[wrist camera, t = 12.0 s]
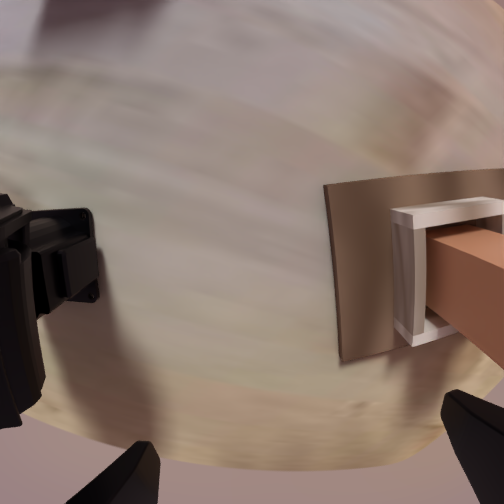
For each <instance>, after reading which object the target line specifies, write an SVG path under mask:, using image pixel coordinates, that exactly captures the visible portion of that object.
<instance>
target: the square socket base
mask: <svg viewBox="0 0 504 504" xmlns="http://www.w3.org/2000/svg"><path fill="white" fill-rule="evenodd" d="M323 186H324V194H325V201H326V209H327V216H328V225H329V233H330V242H331V251H332V261H333V272H334V283H335V295H336V308H337V323H338V340H339V355H340V357H341V359H342V361H343V362H344V361H349V360H353V359H357V358H361V357H366V356H370V355H374V354H377V353H381V352H385V351H389V350H393V349H396V348H400V347H403V346H407V345H411V346H412V347H414V346H418V345H421V344H424V343H427V342H431V341H434V340H437V339H440V338H443V337H446V336H449V335H452V334H455V333H457V332H459V331H458V330H457V329H455V328H454V327H453V326H452V325H450V324H449V323H448V322H447V321H446V320H444V319H443V318H442V317H441V316H439V315H438V314H437V313H436V312H434V311H433V310H432V309H431V308H429V307H428V306H427V305H426V231H430V230H436V229H442V228H448V227H453V226H459V225H465V224H469V225H473V226H476V227H480V228H483V229H486V230H490V231H493V232H496V233H500V234H503V235H504V168H503V169H483V170H467V171H453V172H440V173H429V174H417V175H407V176H397V177H387V178H378V179H369V180H361V181H352V182H344V183H336V184H329V185H323Z"/></svg>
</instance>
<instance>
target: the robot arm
mask: <svg viewBox="0 0 504 504" xmlns="http://www.w3.org/2000/svg"><path fill="white" fill-rule="evenodd" d="M83 212H84V213H85V215H86V218H85V219H84V218H83V217H82V213H83ZM98 276H99V273H98V264H97V254H96V243H95V240H94V238H93V230H92V215H91V211H90V210H89V209H88V208H70V209H53V210H38V211H31V210H24V209H23V208H20V207H15V204H13V203H12V202H11V200H10V198H9V196H8V194H1V193H0V429H3V428H11V427H18V426H21V425H22V421H21V418H20V415H19V414H21V413H22V412H24V411H25V410H27V409H28V408H30V407H32V406H33V405H34V404H35V403H36V402H37V401H38V400H39V399H40V398H41V396H42V394H41V389H42V387H43V384H44V381H45V378H46V375H45V369H44V363H43V358H42V352H41V346H40V340H39V334H38V327H37V320H38V319H39V318H40V317H42V316H43V315H44V314H49V313H51V312H52V311H53V310H54V309H56V308H57V307H58V306H59V305H61V304H62V303H63V302H65V301H74V302H87V303H94V302H96V301H97V300H98V299H99V288H98V281H97V277H98ZM90 293H92V294H93V295H94V298H93V297H92V296H91V295H90ZM441 419H442V421H443V424H444V426H445V429H446V431H447V434H448V436H449V439H450V442H451V444H452V447H453V449H454V452H455V454H456V456H457V458H458V460H459V461H460V464H461V466H462V468H463V470H464V472H465V474H466V476H467V478H468V480H469V482H470V484H471V486H472V488H473V490H474V492H475V494H476V496H477V498H478V500H479V502H480V504H504V408H502V407H500V406H497V405H495V404H492V403H489V402H487V401H485V400H483V399H480V398H478V397H475V396H473V395H470V394H468V393H466V392H463V391H461V390H458V389H455V390H452V391H450V392H447V393H446V394H445V396H444V400H443V404H442V408H441ZM159 476H160V458H159V456H158V454H157V452H156V450H155V448H154V446H153V444H152V443H151V442H150V441H137V442H135V443H134V444H133V445H132V446H131V447H130V448H129V449H128V450H127V451H125V453H123V454H122V455H121V456H120V457H119V458H117V459H116V460H115V461H114V462H113V463H112V464H111V465H110V466H108V467H107V468H106V469H105V470H104V471H103V472H101V473H100V474H99V475H98V476H97V477H96V478H94V479H93V480H92V481H91V482H90V483H89V484H87V485H86V486H85V487H84V488H82V489H81V490H80V491H79V492H78V493H76V494H75V495H74V496H73V497H72V498H70V499H69V500H68V501H67V502H66V504H157V503H158V489H159Z"/></svg>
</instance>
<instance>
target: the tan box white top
mask: <svg viewBox="0 0 504 504" xmlns="http://www.w3.org/2000/svg"><path fill="white" fill-rule="evenodd" d="M426 305H427V306H428V307H429V308H431V309H432V310H433V311H434V312H436V313H437V314H438V315H439V316H441V317H442V318H443V319H444V320H446V321H447V322H448V323H449V324H450V325H452V326H453V327H454V328H455V329H457V330H458V331H459V332H460V333H461V334H463V335H464V336H465V337H466V338H467V339H469V340H470V341H471V342H472V343H473V344H475V345H476V346H477V347H478V348H479V349H480V350H482V351H483V352H484V353H485V354H486V355H487V356H489V357H490V358H491V359H492V360H493V361H494V362H496V363H497V364H498V365H499V366H500V367H501V368H502V369H504V235H503V234H500V233H496V232H493V231H490V230H486V229H483V228H480V227H476V226H473V225H469V224H465V225H459V226H453V227H448V228H442V229H436V230H430V231H426Z"/></svg>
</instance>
